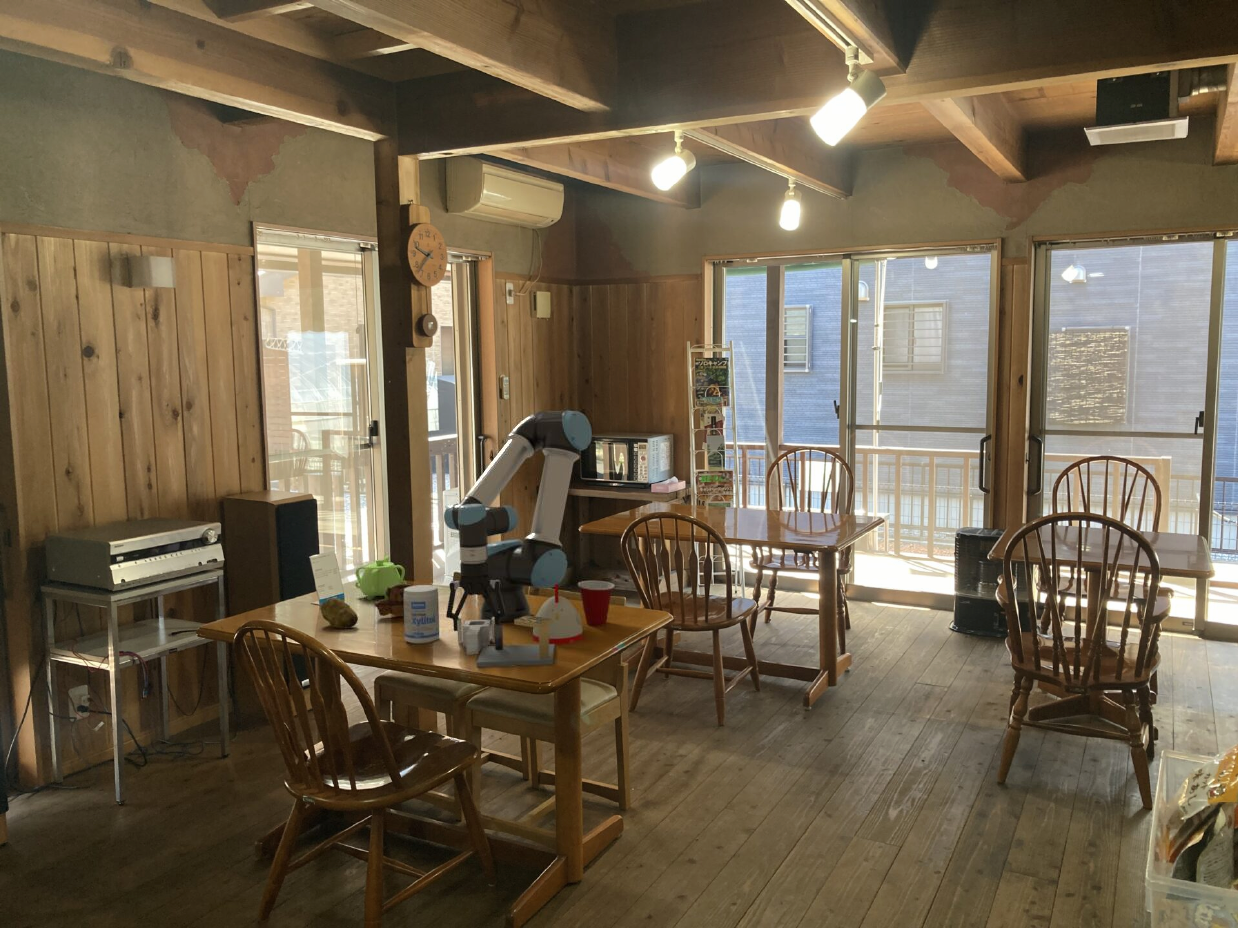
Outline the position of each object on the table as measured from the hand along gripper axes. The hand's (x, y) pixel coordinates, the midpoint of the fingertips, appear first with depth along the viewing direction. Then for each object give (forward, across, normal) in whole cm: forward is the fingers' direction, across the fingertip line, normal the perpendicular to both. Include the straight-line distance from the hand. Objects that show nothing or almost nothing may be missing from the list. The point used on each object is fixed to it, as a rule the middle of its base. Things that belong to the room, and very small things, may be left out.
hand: (477, 641), depth 264 cm
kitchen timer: (+1, +22, +3) cm, 22 cm away
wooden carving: (+1, -27, +33) cm, 43 cm away
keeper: (-1, +17, -18) cm, 25 cm away
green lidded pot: (+1, -40, +63) cm, 74 cm away
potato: (+1, -44, +23) cm, 49 cm away
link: (0, 0, -4) cm, 4 cm away
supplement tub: (+1, -16, +5) cm, 17 cm away
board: (0, +12, -15) cm, 20 cm away
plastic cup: (+1, +33, +17) cm, 37 cm away
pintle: (-1, +7, -11) cm, 13 cm away
